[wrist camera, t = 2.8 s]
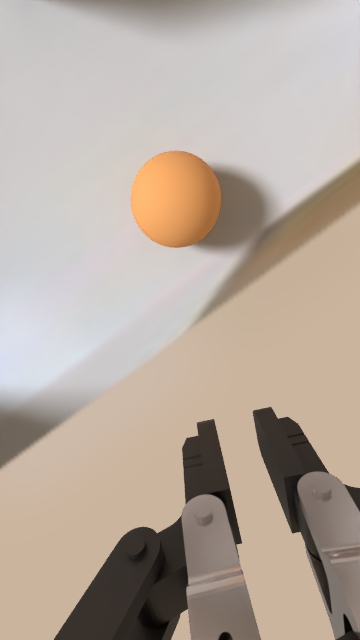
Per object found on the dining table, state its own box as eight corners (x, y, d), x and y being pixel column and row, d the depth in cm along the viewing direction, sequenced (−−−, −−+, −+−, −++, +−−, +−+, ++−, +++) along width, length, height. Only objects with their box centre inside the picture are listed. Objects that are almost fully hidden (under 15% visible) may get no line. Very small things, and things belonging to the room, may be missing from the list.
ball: (221, 234, 25) (236, 239, 20) (146, 251, 25) (140, 261, 20) (206, 150, 23) (218, 129, 18) (126, 169, 24) (112, 155, 18)
